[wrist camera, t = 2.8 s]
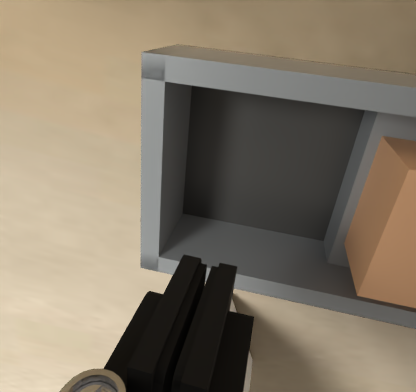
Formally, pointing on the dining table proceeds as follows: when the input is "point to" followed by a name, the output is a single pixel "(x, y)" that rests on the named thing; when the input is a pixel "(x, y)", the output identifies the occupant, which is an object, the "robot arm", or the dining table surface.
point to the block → (386, 227)
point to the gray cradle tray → (265, 168)
